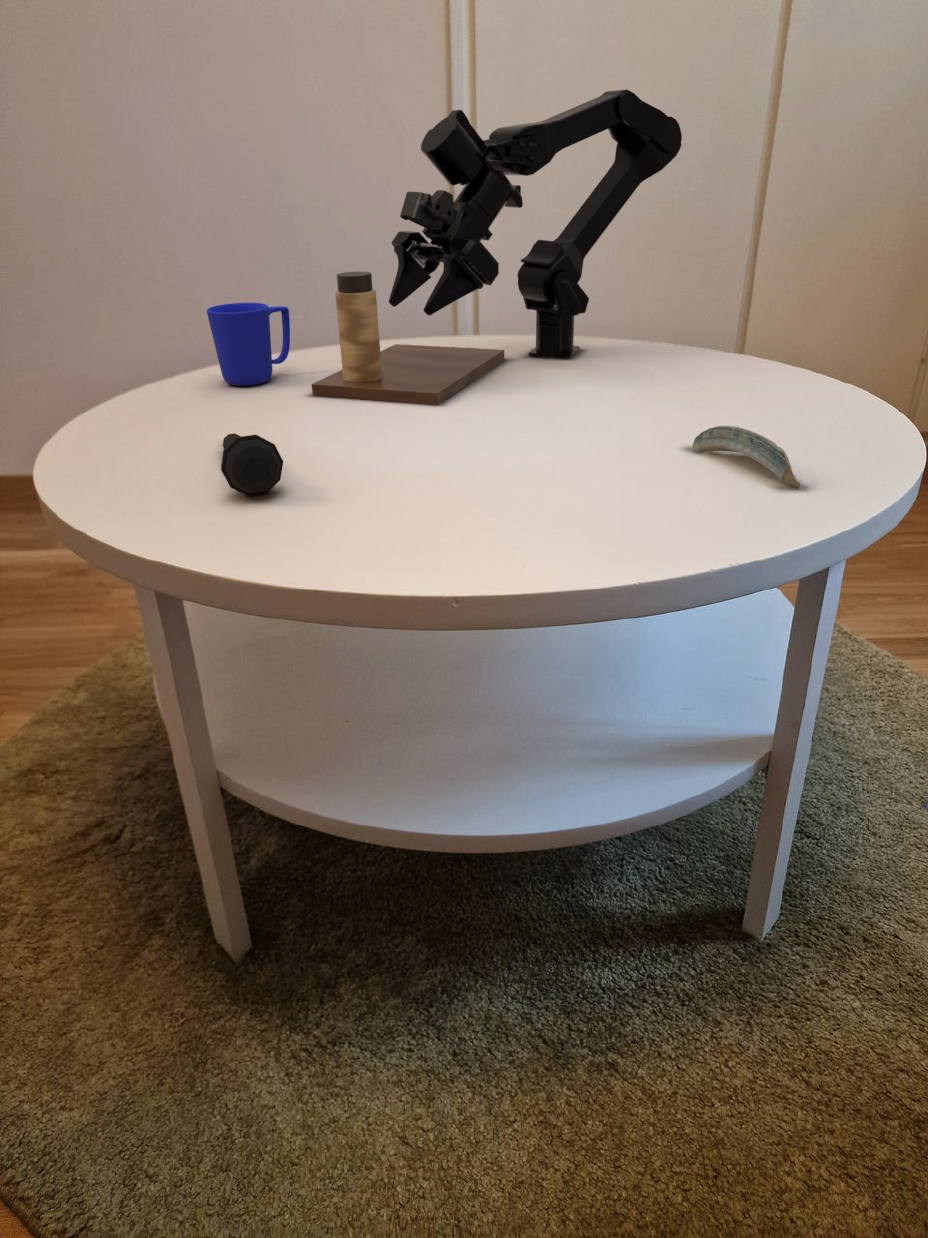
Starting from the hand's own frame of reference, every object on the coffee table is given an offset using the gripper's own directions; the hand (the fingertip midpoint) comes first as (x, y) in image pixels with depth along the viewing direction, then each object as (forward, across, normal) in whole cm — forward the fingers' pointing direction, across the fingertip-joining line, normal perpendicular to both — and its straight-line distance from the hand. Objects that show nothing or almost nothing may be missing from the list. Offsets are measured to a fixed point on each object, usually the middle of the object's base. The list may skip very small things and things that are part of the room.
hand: (408, 308), depth 114 cm
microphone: (+30, +22, -16) cm, 40 cm away
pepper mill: (+11, 0, 0) cm, 11 cm away
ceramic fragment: (+2, +52, +12) cm, 53 cm away
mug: (+18, -14, -5) cm, 24 cm away
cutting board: (+6, -1, +8) cm, 10 cm away
